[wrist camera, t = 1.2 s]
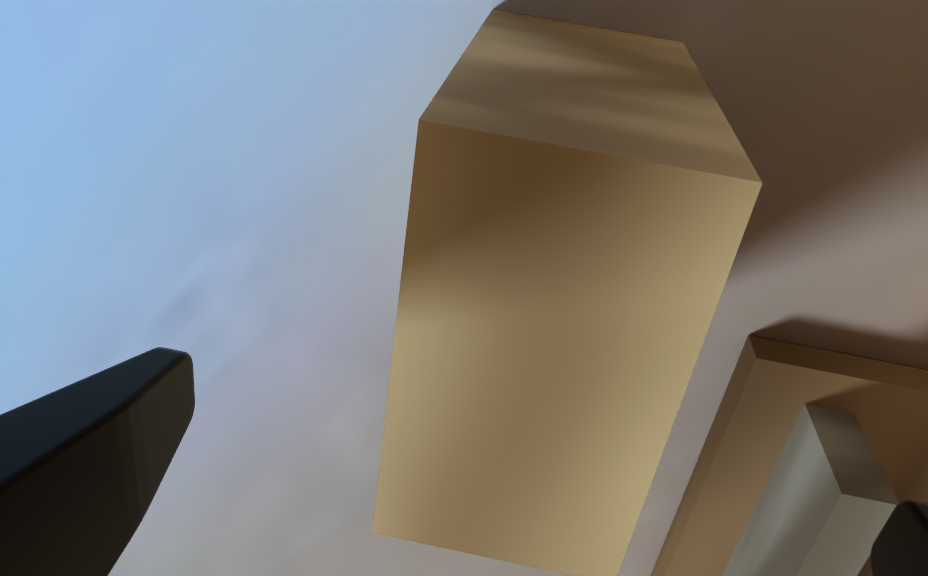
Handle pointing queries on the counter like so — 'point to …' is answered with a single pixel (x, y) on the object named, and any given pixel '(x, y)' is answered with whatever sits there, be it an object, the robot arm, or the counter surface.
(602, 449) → the oak rail end
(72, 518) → the robot arm
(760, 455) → the slot board
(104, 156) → the counter surface
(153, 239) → the counter surface
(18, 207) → the counter surface
